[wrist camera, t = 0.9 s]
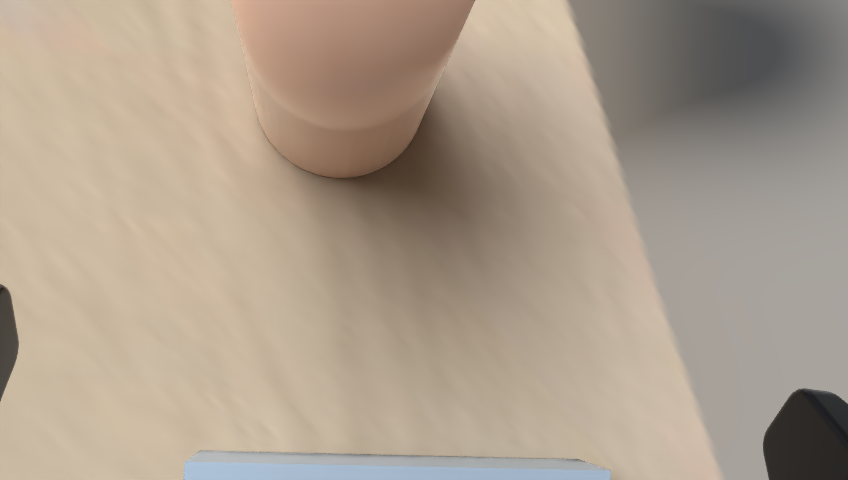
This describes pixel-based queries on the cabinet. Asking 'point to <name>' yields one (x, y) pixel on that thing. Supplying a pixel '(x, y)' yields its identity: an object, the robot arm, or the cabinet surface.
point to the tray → (381, 467)
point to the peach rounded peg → (345, 75)
